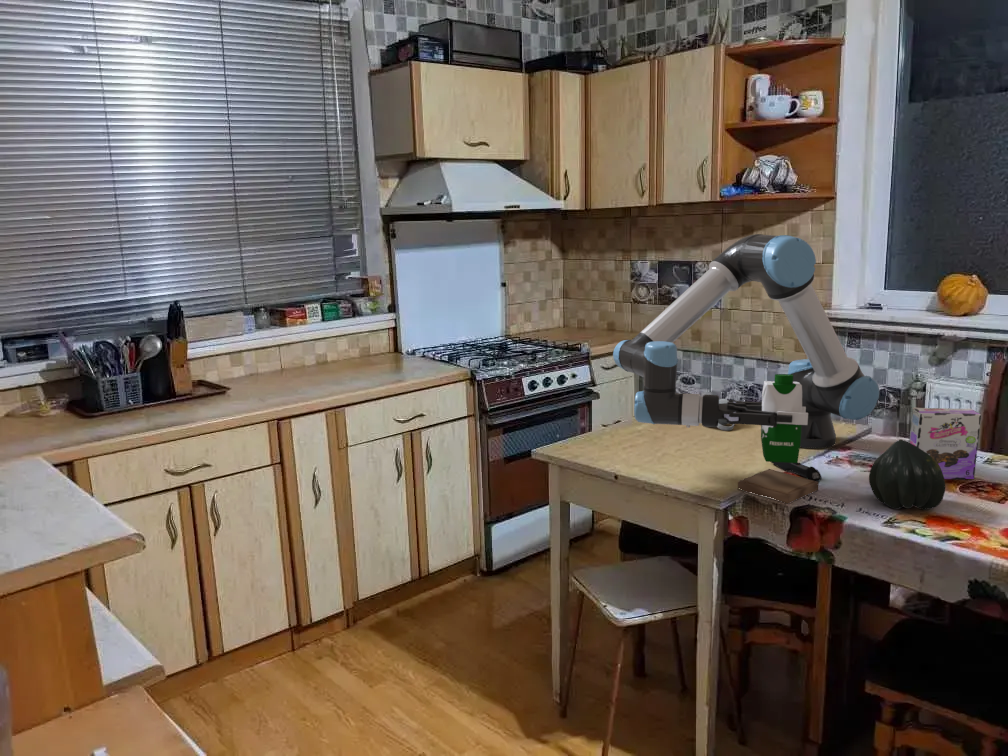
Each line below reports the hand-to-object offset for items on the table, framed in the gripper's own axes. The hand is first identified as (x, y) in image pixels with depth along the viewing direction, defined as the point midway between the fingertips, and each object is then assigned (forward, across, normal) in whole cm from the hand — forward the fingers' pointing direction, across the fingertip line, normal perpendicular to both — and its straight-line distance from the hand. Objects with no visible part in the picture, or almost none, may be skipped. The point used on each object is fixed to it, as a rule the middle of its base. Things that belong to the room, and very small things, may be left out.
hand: (806, 415), depth 189 cm
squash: (+21, +4, -18) cm, 28 cm away
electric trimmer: (-1, -14, -19) cm, 23 cm away
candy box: (+33, -18, -18) cm, 42 cm away
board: (-5, 0, -18) cm, 19 cm away
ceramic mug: (-19, -53, -18) cm, 59 cm away
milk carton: (-5, -1, -11) cm, 12 cm away
